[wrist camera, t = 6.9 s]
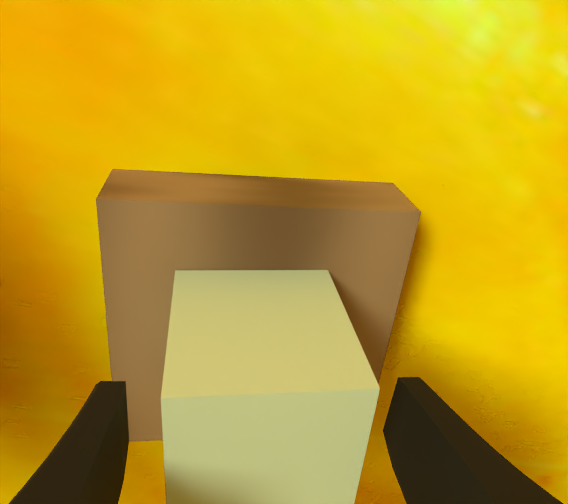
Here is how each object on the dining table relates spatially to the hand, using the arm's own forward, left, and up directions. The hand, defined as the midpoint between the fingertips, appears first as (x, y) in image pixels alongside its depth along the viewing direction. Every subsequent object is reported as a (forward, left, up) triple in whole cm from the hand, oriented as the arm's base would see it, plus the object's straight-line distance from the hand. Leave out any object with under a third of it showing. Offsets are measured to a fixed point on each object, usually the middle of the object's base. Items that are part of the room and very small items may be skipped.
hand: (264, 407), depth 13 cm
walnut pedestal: (0, 0, -6) cm, 6 cm away
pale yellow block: (0, 0, -3) cm, 3 cm away
